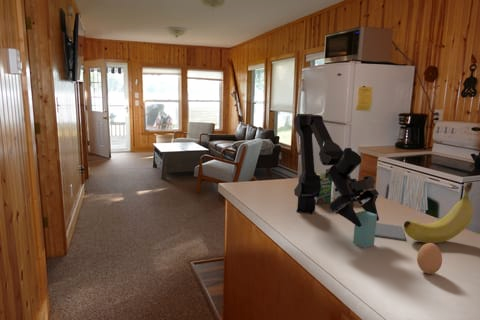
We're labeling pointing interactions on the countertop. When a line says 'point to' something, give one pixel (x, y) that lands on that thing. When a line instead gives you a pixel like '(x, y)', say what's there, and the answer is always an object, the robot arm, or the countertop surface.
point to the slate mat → (389, 231)
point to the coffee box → (324, 189)
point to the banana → (443, 223)
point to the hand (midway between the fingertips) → (369, 223)
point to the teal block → (365, 229)
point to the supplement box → (334, 193)
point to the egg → (429, 258)
